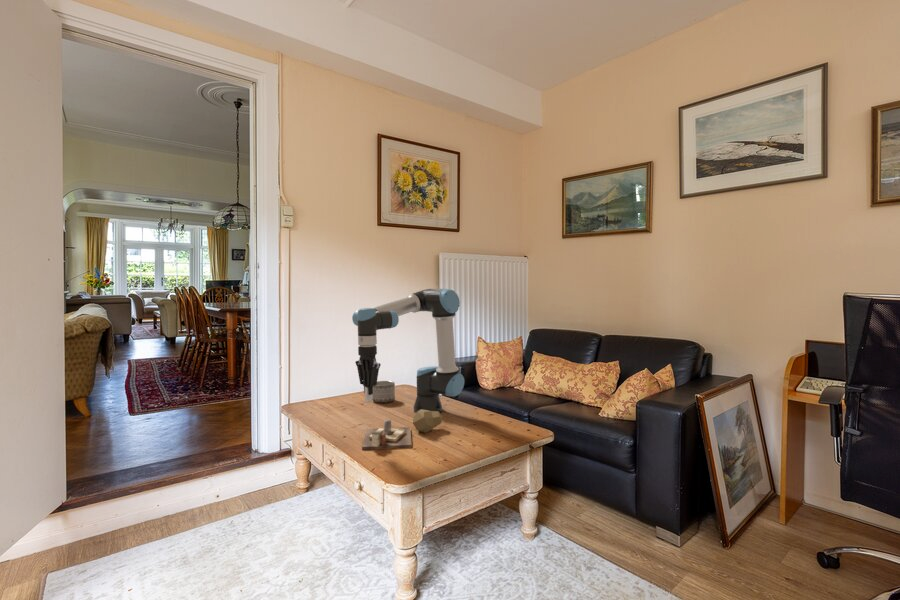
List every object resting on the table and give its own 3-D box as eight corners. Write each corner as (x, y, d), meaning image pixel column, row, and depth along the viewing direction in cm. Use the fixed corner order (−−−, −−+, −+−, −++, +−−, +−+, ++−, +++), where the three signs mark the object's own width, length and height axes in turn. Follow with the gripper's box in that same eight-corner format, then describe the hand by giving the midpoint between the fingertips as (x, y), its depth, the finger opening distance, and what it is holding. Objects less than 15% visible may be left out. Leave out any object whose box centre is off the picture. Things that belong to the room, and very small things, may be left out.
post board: (410, 429, 201) (410, 412, 201) (411, 447, 179) (411, 428, 179) (366, 431, 199) (366, 414, 198) (362, 449, 177) (361, 430, 177)
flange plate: (380, 429, 196) (380, 418, 196) (405, 432, 193) (405, 420, 193) (361, 445, 178) (360, 432, 178) (388, 448, 175) (388, 434, 175)
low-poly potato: (410, 436, 193) (431, 427, 189) (404, 412, 198) (424, 403, 194) (428, 436, 206) (448, 427, 201) (422, 413, 210) (442, 404, 206)
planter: (373, 398, 256) (373, 381, 255) (394, 397, 257) (394, 380, 257) (371, 404, 243) (371, 386, 243) (394, 403, 244) (394, 385, 244)
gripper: (349, 345, 181) (351, 401, 182) (371, 348, 173) (372, 406, 174) (363, 343, 187) (364, 397, 188) (385, 345, 179) (386, 402, 180)
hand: (368, 401), depth 181 cm, fingers closed
